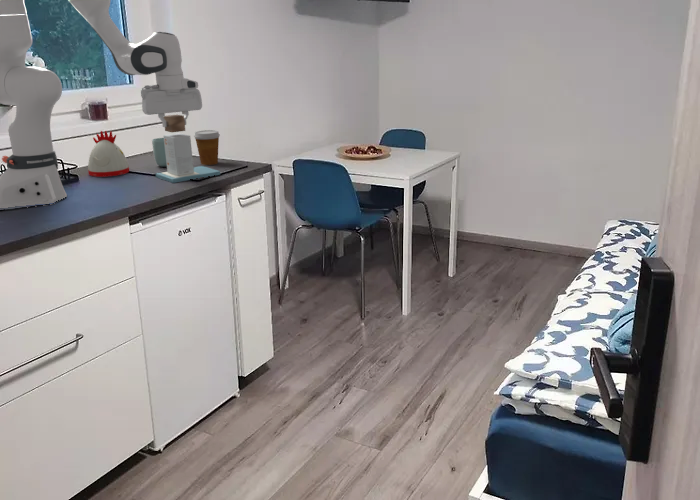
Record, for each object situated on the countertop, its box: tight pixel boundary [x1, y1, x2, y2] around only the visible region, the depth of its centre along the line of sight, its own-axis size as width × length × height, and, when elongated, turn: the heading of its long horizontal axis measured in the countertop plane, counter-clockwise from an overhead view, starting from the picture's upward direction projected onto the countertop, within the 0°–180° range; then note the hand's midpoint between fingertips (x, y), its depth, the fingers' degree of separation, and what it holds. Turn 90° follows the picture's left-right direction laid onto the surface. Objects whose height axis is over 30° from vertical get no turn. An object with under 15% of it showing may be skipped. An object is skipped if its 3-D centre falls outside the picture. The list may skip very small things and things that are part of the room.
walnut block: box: [164, 114, 186, 133], centre depth 214 cm, size 5×5×5 cm
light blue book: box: [155, 165, 221, 184], centre depth 222 cm, size 18×13×1 cm
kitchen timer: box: [87, 130, 130, 178], centre depth 227 cm, size 14×14×15 cm
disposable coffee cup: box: [193, 129, 221, 166], centre depth 240 cm, size 10×10×12 cm
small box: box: [163, 132, 195, 176], centre depth 218 cm, size 8×6×13 cm
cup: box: [151, 137, 167, 168], centre depth 237 cm, size 8×8×10 cm
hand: (174, 125), depth 214 cm, fingers closed on walnut block, 5 cm apart
